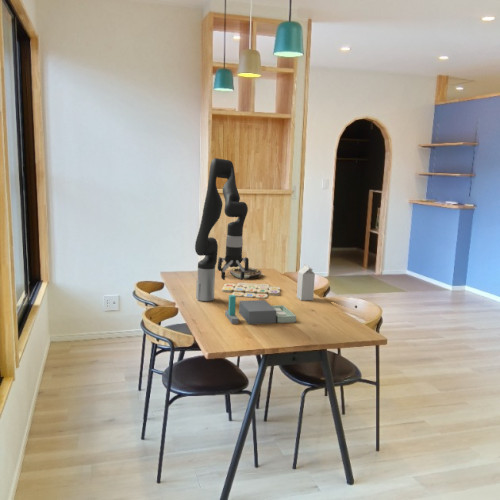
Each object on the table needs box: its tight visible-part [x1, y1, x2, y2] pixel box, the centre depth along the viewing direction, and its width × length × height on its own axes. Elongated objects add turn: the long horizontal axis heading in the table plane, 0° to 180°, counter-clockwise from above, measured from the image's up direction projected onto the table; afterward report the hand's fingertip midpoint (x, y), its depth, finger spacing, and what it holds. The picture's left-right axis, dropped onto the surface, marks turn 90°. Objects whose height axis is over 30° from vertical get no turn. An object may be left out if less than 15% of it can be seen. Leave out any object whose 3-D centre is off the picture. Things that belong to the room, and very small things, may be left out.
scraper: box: [224, 294, 239, 325], centre depth 230 cm, size 3×14×12 cm, turn 15°
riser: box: [238, 299, 277, 325], centre depth 235 cm, size 13×18×6 cm
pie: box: [227, 266, 265, 280], centre depth 323 cm, size 28×27×5 cm
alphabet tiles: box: [221, 282, 281, 300], centre depth 286 cm, size 33×33×2 cm
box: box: [271, 304, 297, 324], centre depth 238 cm, size 9×18×3 cm, turn 15°
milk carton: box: [296, 263, 316, 301], centre depth 272 cm, size 7×7×19 cm
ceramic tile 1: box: [276, 312, 287, 316], centre depth 235 cm, size 4×4×2 cm
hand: (232, 279), depth 228 cm, fingers open, 8 cm apart
